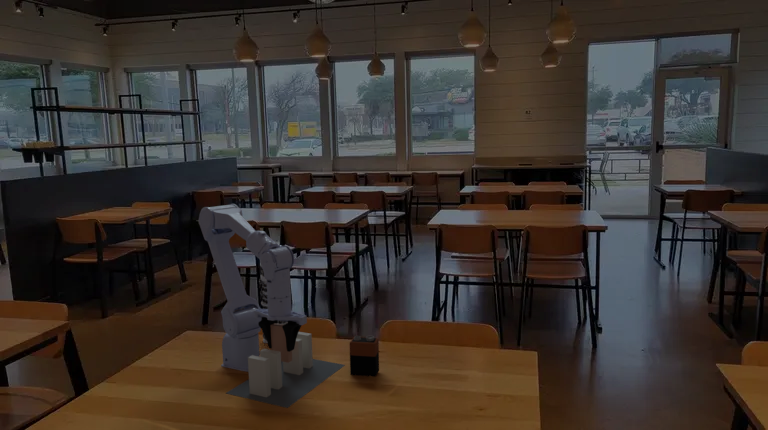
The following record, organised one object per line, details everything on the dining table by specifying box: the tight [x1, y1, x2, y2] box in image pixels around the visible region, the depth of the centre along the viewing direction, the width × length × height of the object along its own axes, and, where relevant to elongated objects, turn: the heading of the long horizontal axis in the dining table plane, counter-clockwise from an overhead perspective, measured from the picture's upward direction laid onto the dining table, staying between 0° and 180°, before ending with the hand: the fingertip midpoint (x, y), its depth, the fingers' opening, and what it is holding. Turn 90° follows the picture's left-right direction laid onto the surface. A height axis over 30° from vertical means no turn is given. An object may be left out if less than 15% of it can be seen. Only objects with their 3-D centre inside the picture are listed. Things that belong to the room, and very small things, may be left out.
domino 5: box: [297, 331, 314, 368], centre depth 149 cm, size 2×5×9 cm, turn 64°
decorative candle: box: [258, 263, 288, 344], centre depth 169 cm, size 9×9×25 cm
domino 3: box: [259, 348, 282, 389], centre depth 137 cm, size 2×5×9 cm, turn 64°
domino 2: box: [270, 323, 292, 363], centre depth 140 cm, size 2×5×9 cm, turn 64°
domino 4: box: [283, 338, 303, 375], centre depth 145 cm, size 2×5×9 cm, turn 64°
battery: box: [349, 335, 380, 378], centre depth 144 cm, size 4×7×10 cm, turn 79°
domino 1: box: [248, 355, 271, 397], centre depth 133 cm, size 2×5×9 cm, turn 64°
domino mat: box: [225, 358, 346, 409], centre depth 142 cm, size 18×26×1 cm
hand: (281, 348), depth 141 cm, fingers closed on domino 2, 5 cm apart
